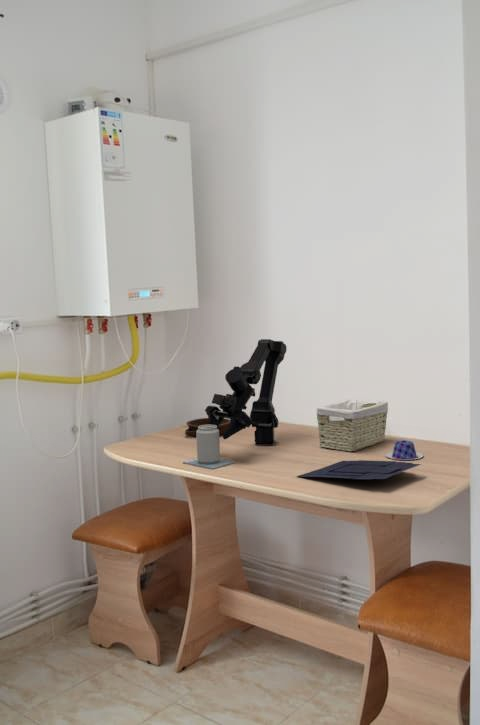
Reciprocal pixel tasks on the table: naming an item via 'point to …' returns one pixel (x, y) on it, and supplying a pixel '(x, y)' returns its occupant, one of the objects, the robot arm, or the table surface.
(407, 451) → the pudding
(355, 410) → the storage basket
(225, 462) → the mat
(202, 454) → the can
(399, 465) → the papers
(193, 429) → the dish
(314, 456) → the table surface
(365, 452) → the table surface
